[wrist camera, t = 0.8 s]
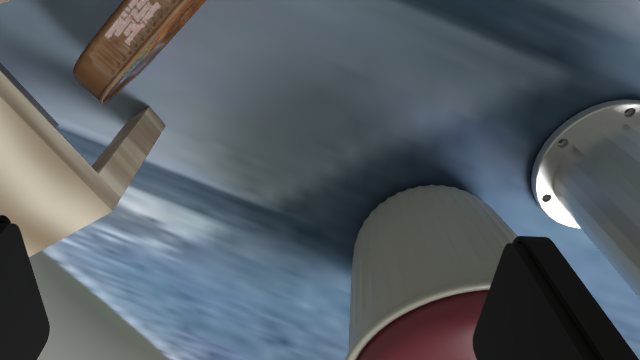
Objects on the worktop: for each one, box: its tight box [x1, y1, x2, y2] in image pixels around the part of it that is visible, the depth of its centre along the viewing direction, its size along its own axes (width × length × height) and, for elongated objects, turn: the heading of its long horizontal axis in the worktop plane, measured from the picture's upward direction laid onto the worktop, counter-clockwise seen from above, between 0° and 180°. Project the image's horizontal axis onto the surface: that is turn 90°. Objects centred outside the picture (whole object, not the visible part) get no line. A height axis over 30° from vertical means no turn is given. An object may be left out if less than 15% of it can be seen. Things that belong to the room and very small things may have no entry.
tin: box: [73, 0, 206, 104], centre depth 31 cm, size 15×3×8 cm, turn 133°
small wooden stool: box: [0, 0, 165, 257], centre depth 32 cm, size 10×15×12 cm, turn 30°
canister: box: [345, 185, 518, 360], centre depth 37 cm, size 18×18×21 cm
